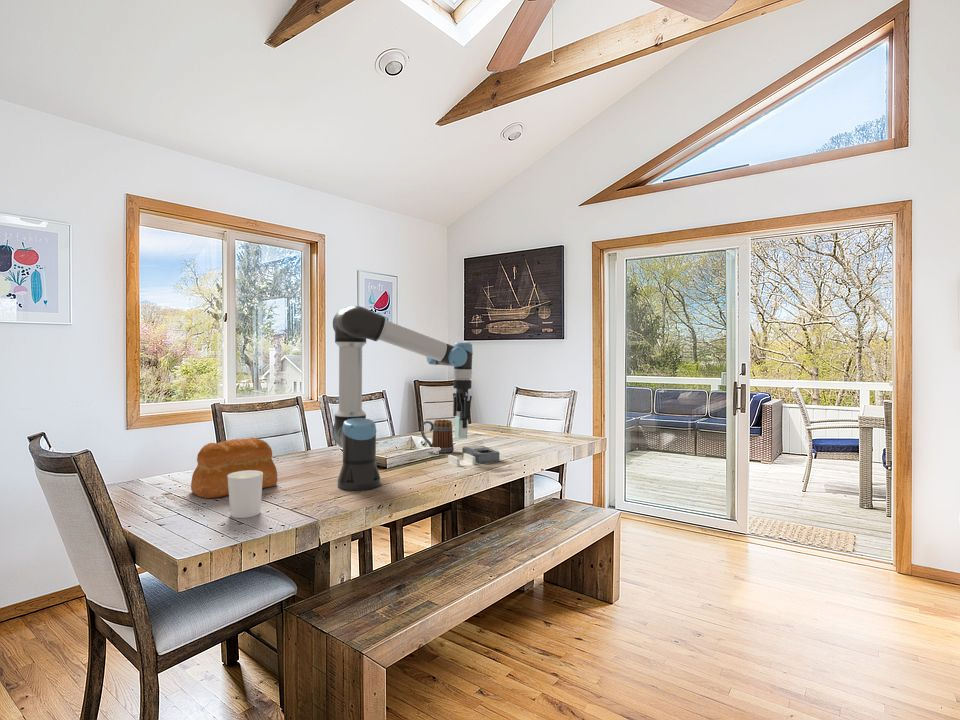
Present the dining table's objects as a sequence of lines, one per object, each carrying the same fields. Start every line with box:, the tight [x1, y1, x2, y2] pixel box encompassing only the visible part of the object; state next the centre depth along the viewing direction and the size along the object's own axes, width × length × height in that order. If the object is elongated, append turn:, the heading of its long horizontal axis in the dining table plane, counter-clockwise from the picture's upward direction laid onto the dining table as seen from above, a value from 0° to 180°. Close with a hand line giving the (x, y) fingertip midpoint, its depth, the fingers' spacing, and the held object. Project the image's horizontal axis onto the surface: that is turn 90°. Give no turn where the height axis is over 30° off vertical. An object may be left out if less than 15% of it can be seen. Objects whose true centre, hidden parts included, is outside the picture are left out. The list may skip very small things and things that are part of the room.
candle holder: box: [227, 470, 263, 519], centre depth 162 cm, size 10×10×12 cm
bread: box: [190, 437, 278, 499], centre depth 189 cm, size 16×26×17 cm, turn 139°
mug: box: [420, 419, 455, 456], centre depth 255 cm, size 16×11×15 cm
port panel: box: [461, 445, 500, 465], centre depth 238 cm, size 10×16×5 cm, turn 27°
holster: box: [447, 453, 476, 467], centre depth 229 cm, size 9×9×4 cm
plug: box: [454, 411, 469, 440], centre depth 229 cm, size 4×4×11 cm
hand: (460, 434), depth 229 cm, fingers closed on plug, 4 cm apart
